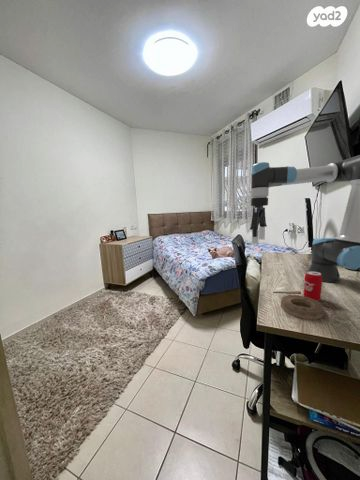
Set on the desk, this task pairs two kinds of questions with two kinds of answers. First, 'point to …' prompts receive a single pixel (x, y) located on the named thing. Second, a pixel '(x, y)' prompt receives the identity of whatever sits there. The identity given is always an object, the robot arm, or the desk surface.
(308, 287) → the beverage can
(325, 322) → the desk surface
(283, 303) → the brown flat ring
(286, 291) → the lace cord
